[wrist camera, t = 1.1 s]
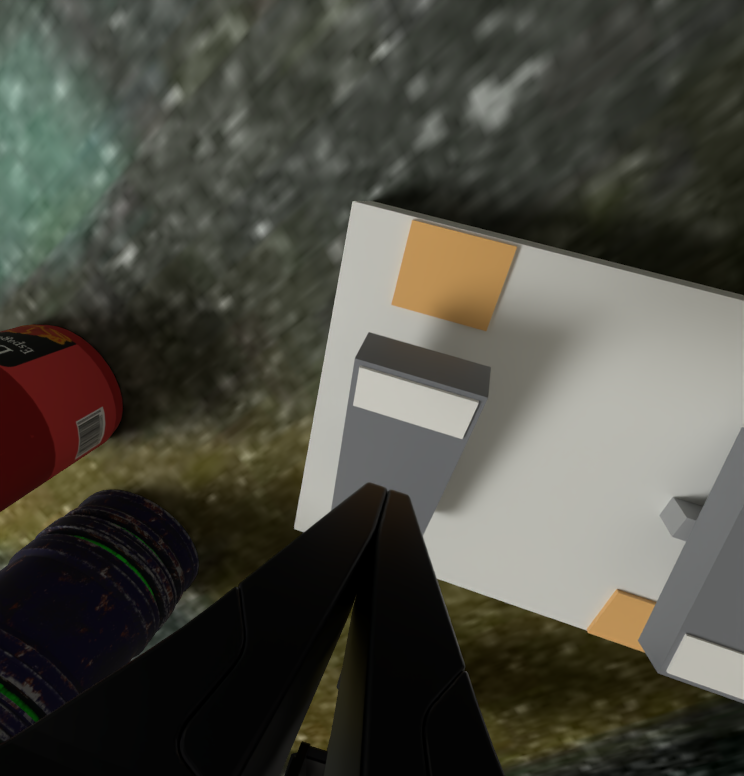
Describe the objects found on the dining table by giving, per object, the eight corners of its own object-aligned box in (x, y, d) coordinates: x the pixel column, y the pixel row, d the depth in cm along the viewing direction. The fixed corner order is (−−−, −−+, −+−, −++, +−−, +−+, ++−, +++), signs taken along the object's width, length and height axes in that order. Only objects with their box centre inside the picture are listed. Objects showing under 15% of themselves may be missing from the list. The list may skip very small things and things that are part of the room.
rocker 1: (423, 517, 19) (417, 549, 18) (340, 490, 19) (329, 519, 18) (490, 367, 13) (488, 400, 12) (368, 332, 13) (353, 360, 12)
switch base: (662, 609, 22) (700, 692, 18) (313, 492, 24) (284, 545, 20) (897, 334, 15) (1039, 379, 11) (371, 200, 17) (342, 201, 13)
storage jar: (141, 471, 27) (-186, 739, 13) (226, 579, 29) (23, 891, 16) (54, 509, 30) (-269, 747, 17) (137, 601, 33) (-88, 870, 20)
